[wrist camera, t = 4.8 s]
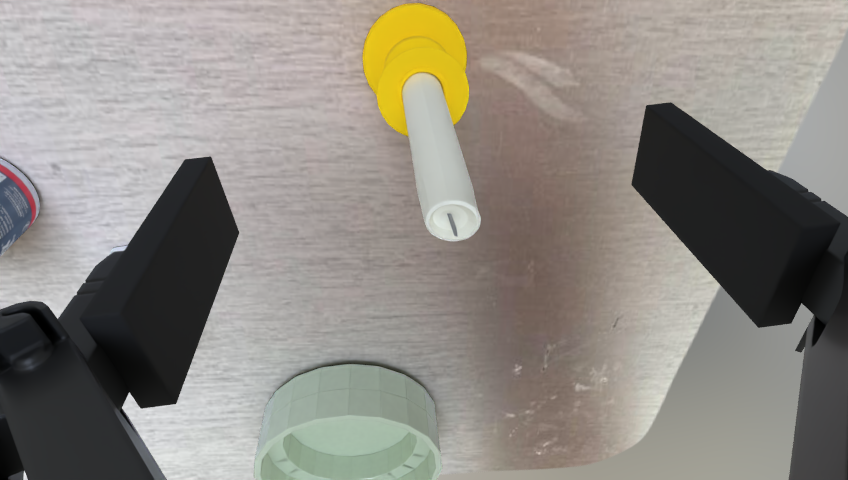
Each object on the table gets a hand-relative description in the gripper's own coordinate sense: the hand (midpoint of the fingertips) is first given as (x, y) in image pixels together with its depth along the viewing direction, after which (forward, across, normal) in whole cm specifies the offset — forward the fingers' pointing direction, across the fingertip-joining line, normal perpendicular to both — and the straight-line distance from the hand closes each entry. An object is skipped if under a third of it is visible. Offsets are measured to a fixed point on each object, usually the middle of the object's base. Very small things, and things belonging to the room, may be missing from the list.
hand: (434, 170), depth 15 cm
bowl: (+12, -8, -28) cm, 32 cm away
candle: (+12, 0, 0) cm, 12 cm away
